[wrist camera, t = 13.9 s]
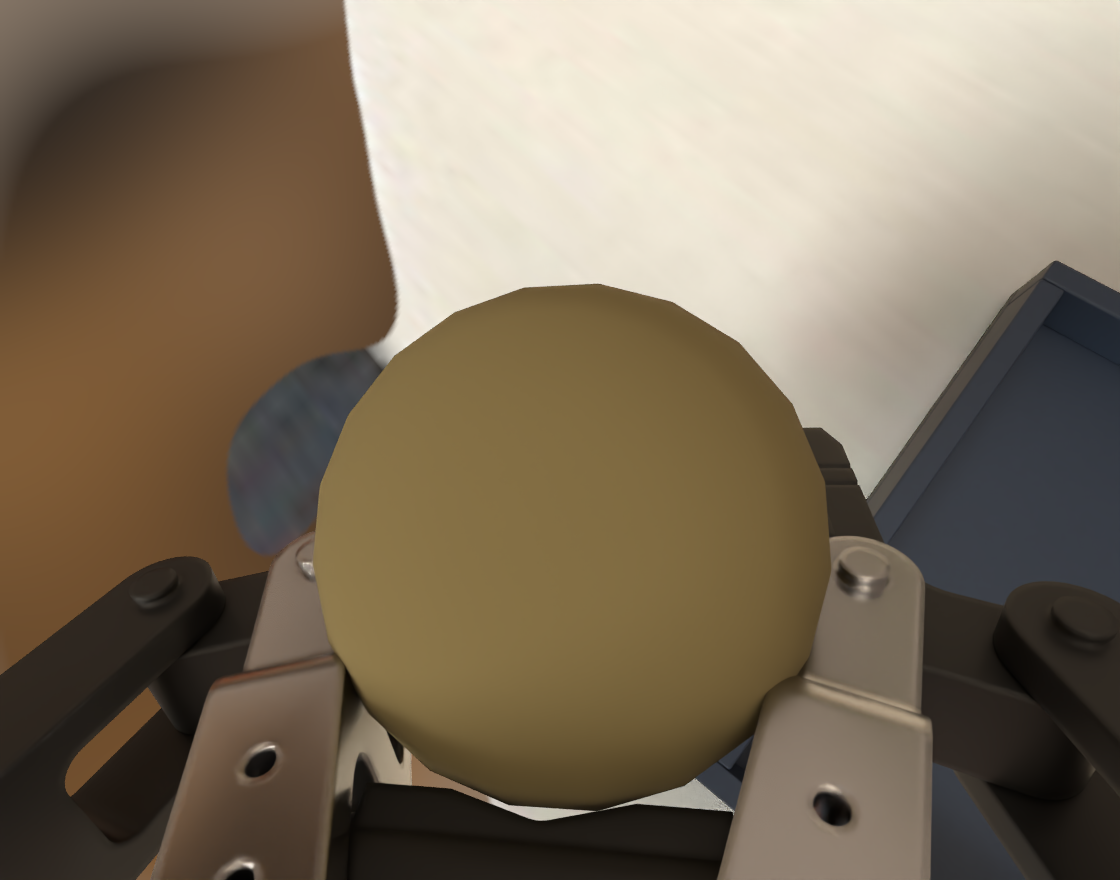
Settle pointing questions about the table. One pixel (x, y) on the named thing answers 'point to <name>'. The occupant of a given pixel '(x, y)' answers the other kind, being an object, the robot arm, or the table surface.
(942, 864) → the pan
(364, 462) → the cork
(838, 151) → the table surface
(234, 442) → the table surface
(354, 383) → the table surface
